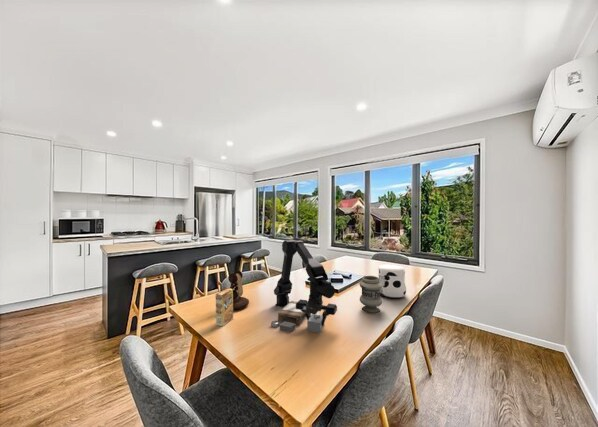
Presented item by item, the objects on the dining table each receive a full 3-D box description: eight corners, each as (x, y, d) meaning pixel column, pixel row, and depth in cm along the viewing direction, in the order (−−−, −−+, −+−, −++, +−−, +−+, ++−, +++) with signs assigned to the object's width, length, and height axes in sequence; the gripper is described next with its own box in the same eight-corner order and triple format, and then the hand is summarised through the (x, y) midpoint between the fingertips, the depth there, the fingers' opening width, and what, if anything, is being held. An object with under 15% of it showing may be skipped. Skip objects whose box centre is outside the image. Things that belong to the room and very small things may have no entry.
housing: (307, 330, 107) (307, 318, 107) (312, 323, 114) (312, 311, 114) (320, 333, 105) (320, 320, 104) (324, 324, 112) (324, 313, 112)
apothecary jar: (355, 310, 128) (355, 277, 128) (365, 304, 137) (365, 273, 136) (376, 317, 120) (376, 282, 119) (386, 309, 128) (386, 277, 128)
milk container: (408, 293, 153) (407, 266, 153) (403, 302, 138) (403, 272, 138) (380, 289, 162) (380, 263, 162) (374, 297, 148) (374, 268, 147)
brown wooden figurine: (242, 312, 127) (242, 275, 127) (217, 310, 129) (217, 274, 129) (252, 302, 141) (252, 269, 141) (230, 300, 144) (229, 268, 144)
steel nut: (269, 327, 111) (269, 323, 111) (273, 323, 115) (273, 320, 115) (277, 328, 109) (276, 325, 109) (280, 324, 113) (280, 321, 113)
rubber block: (279, 330, 108) (279, 324, 108) (284, 326, 112) (284, 321, 112) (291, 333, 105) (291, 327, 105) (295, 329, 109) (295, 323, 109)
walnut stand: (278, 320, 117) (278, 311, 117) (291, 308, 132) (291, 300, 132) (300, 324, 113) (300, 315, 113) (311, 311, 127) (311, 303, 127)
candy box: (223, 326, 111) (222, 294, 111) (215, 325, 112) (215, 293, 112) (233, 318, 120) (233, 288, 119) (226, 317, 121) (226, 288, 121)
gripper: (290, 295, 105) (291, 329, 106) (331, 300, 98) (331, 337, 99) (299, 287, 116) (300, 318, 116) (337, 292, 109) (337, 325, 109)
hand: (316, 324), depth 110 cm, fingers closed on housing, 6 cm apart
